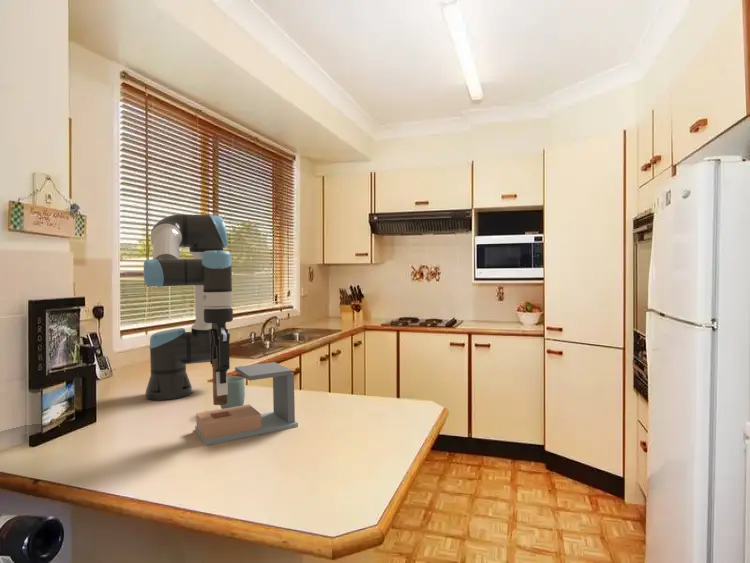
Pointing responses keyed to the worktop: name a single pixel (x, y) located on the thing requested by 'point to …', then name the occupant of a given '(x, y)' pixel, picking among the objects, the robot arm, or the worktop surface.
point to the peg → (216, 399)
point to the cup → (235, 392)
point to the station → (252, 409)
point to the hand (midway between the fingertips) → (220, 392)
